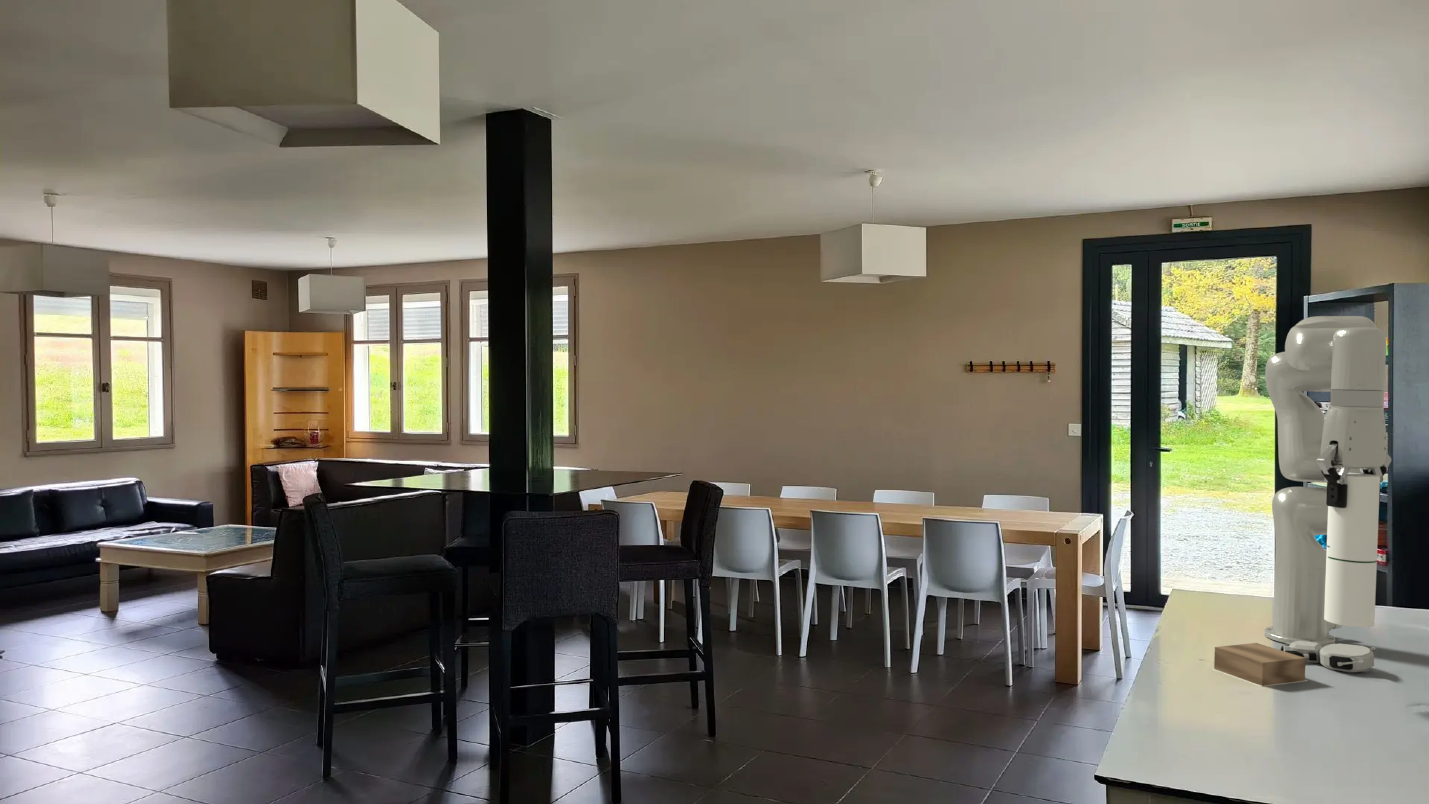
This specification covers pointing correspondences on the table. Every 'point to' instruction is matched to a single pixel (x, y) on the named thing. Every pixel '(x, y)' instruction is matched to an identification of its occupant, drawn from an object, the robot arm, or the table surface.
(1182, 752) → the table surface
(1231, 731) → the table surface
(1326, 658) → the robot toy
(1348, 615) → the cylindrical container
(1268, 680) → the plinth
